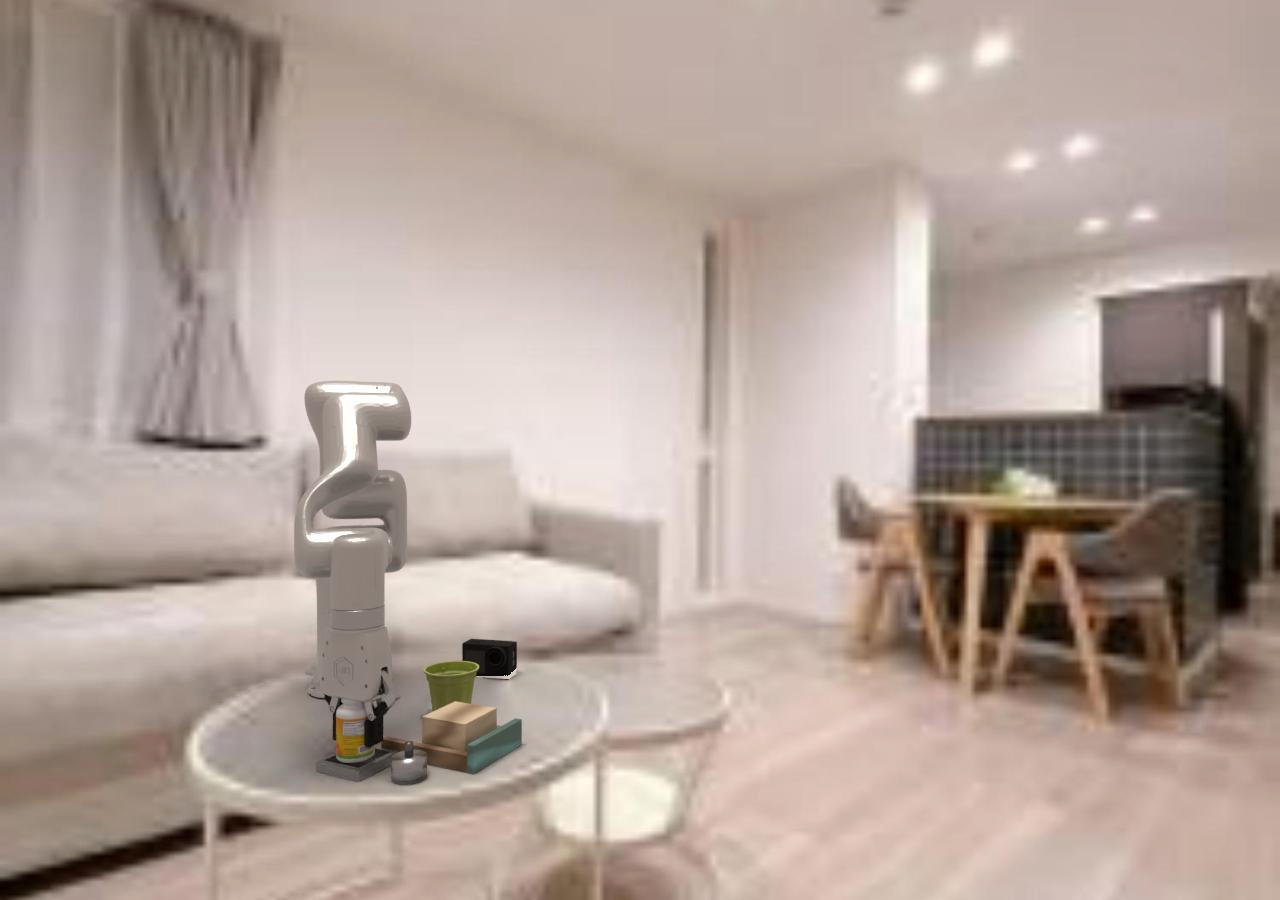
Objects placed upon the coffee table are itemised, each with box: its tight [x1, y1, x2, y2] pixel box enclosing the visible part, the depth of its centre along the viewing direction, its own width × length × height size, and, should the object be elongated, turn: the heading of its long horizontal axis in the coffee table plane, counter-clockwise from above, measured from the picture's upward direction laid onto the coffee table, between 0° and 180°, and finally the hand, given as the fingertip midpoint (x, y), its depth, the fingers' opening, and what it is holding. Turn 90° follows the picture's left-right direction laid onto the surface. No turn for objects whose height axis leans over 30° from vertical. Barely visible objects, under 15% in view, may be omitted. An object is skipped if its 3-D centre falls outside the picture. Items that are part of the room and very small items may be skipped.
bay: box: [380, 701, 523, 775], centre depth 123 cm, size 17×12×6 cm
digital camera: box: [461, 638, 518, 676], centre depth 163 cm, size 10×5×7 cm, turn 76°
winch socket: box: [315, 740, 428, 786], centre depth 115 cm, size 16×8×5 cm, turn 65°
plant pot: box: [423, 660, 479, 712], centre depth 138 cm, size 9×9×9 cm
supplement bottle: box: [335, 698, 376, 764], centre depth 117 cm, size 5×5×10 cm
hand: (358, 739), depth 117 cm, fingers closed on supplement bottle, 5 cm apart
